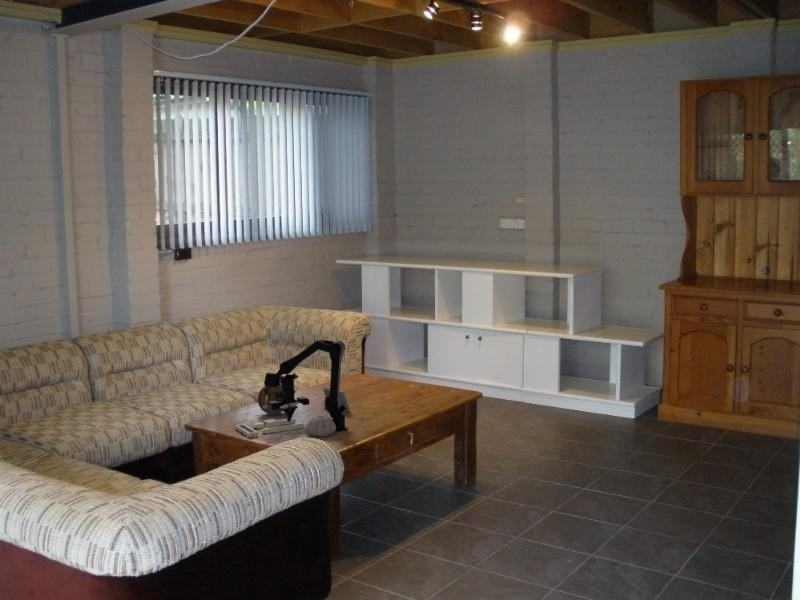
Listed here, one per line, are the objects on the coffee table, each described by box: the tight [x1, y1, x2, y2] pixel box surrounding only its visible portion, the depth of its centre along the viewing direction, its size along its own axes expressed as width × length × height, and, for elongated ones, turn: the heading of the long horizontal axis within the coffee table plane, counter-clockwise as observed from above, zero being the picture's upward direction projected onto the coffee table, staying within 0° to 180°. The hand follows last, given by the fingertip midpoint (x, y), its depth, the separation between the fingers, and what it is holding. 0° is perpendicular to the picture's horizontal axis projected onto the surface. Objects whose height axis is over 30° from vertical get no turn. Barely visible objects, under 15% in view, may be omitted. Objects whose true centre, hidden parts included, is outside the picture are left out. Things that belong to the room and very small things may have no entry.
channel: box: [252, 417, 305, 434], centre depth 407 cm, size 11×20×2 cm, turn 121°
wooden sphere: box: [257, 385, 286, 416], centre depth 430 cm, size 15×15×15 cm
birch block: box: [262, 418, 279, 429], centre depth 404 cm, size 5×5×4 cm
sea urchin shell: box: [305, 415, 336, 438], centre depth 397 cm, size 13×14×8 cm
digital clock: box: [322, 385, 350, 412], centre depth 439 cm, size 16×9×11 cm, turn 28°
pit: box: [235, 423, 259, 438], centre depth 399 cm, size 16×4×2 cm, turn 31°
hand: (288, 421), depth 409 cm, fingers closed
